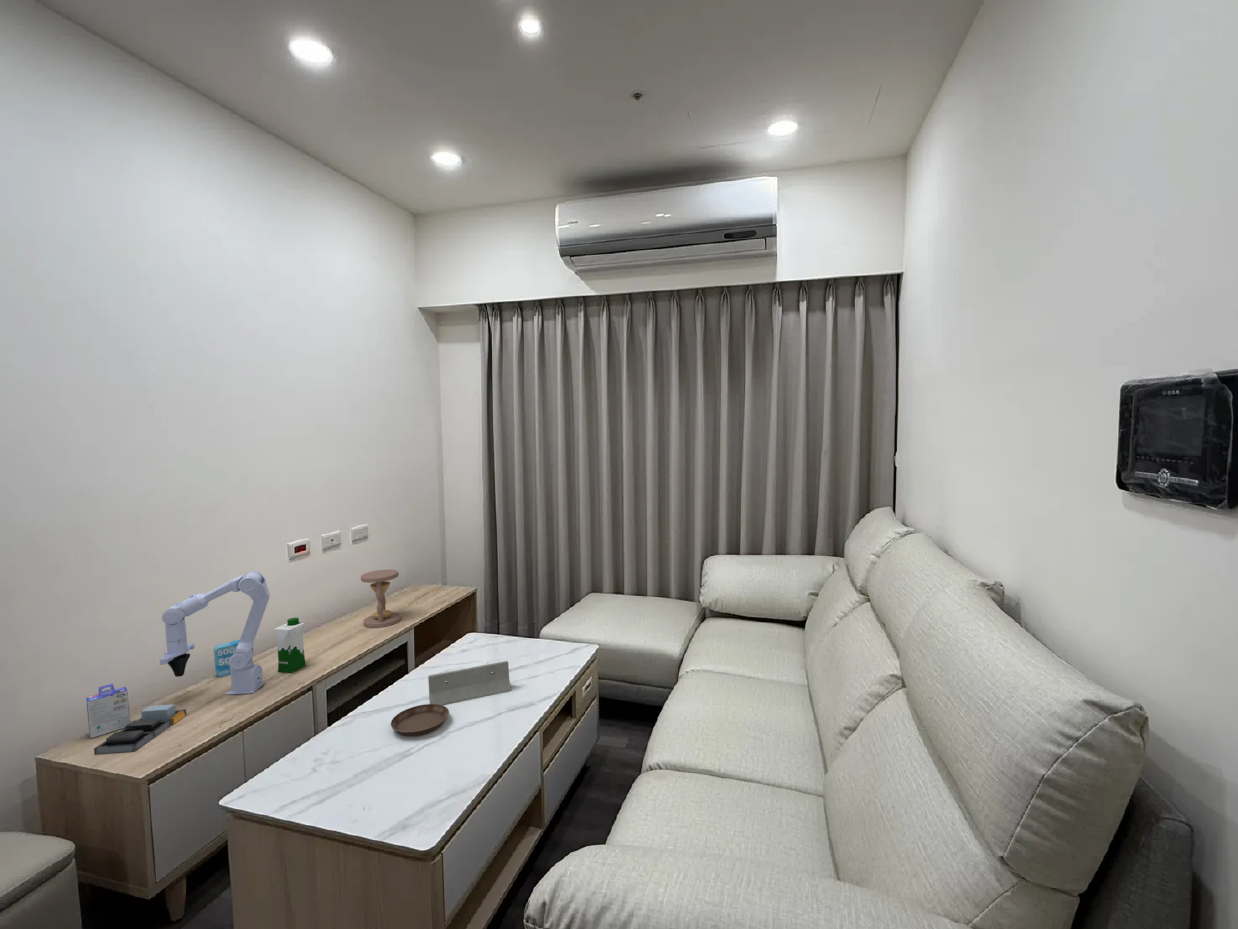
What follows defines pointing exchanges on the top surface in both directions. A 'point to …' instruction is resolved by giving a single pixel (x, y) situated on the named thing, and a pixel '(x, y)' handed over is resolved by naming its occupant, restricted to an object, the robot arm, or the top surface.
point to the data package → (224, 657)
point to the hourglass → (380, 598)
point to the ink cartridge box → (108, 710)
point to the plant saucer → (420, 720)
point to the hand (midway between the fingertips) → (179, 675)
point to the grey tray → (137, 734)
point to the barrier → (469, 683)
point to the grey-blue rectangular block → (158, 712)
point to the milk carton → (290, 646)
